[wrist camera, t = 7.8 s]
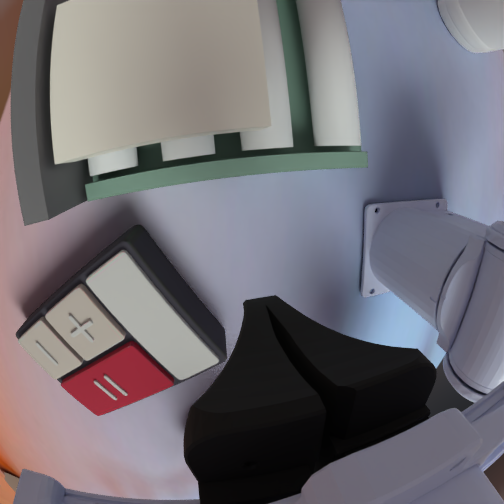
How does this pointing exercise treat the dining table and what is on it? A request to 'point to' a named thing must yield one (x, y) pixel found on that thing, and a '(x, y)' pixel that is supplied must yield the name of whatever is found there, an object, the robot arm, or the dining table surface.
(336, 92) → the roller frame
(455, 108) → the dining table surface
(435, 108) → the dining table surface
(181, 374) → the calculator
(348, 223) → the dining table surface
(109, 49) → the board
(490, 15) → the bottle
